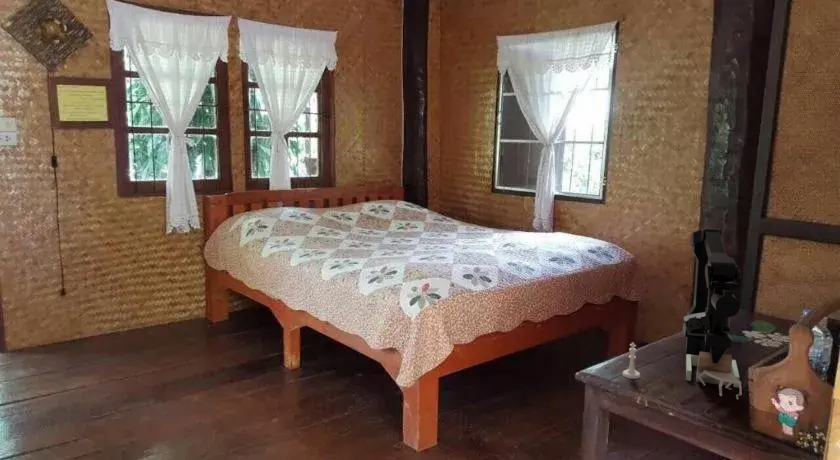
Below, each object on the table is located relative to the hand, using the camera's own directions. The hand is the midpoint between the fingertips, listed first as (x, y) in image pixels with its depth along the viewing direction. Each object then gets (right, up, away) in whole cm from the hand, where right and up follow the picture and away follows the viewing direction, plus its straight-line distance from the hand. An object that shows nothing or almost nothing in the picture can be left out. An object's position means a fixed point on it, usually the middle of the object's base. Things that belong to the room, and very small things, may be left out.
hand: (714, 361), depth 171 cm
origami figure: (+1, -8, 0) cm, 8 cm away
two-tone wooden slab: (+2, -7, +5) cm, 9 cm away
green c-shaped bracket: (+4, -6, +11) cm, 13 cm away
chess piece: (-19, -7, +11) cm, 23 cm away
